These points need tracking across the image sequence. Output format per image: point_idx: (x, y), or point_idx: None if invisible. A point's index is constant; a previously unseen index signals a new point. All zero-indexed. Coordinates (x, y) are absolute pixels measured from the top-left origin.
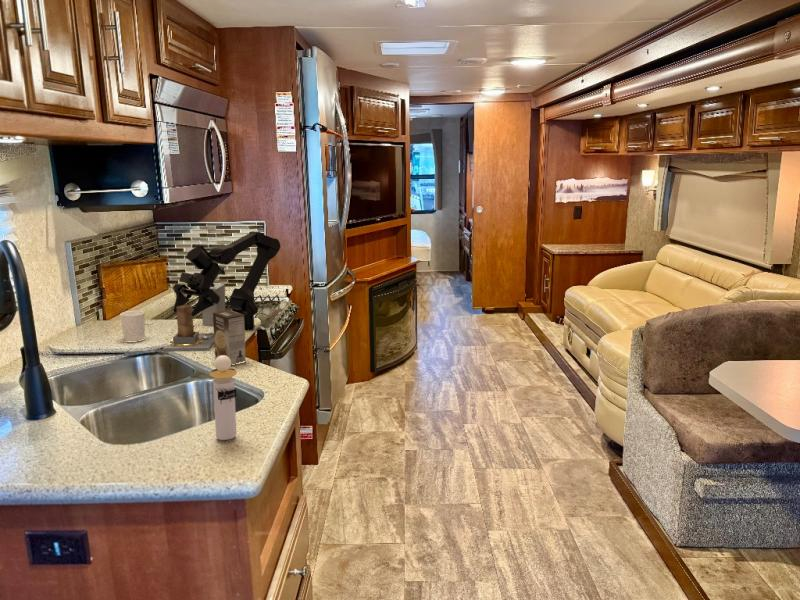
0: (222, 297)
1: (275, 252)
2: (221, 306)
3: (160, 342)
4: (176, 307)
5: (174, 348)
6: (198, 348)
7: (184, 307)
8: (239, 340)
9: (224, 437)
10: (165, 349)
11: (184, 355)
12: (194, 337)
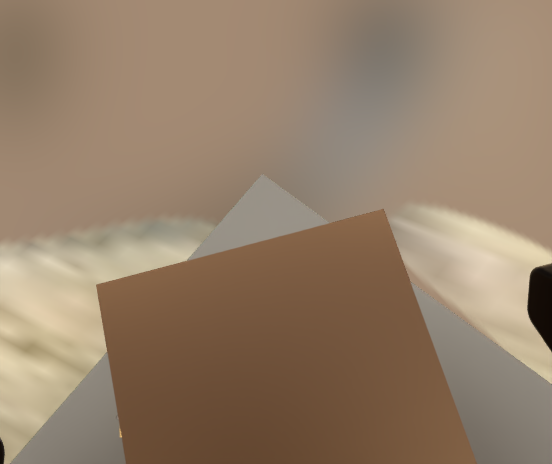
0: None
1: None
2: None
3: (520, 267)
4: (376, 214)
5: (202, 243)
6: (61, 405)
7: (155, 339)
8: None
9: None
10: (250, 193)
11: (46, 258)
12: (117, 417)
